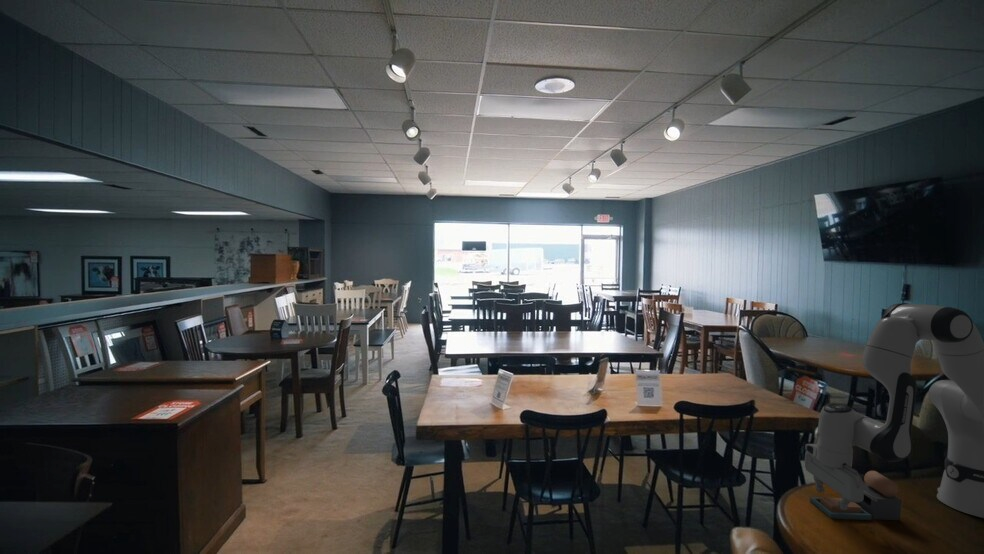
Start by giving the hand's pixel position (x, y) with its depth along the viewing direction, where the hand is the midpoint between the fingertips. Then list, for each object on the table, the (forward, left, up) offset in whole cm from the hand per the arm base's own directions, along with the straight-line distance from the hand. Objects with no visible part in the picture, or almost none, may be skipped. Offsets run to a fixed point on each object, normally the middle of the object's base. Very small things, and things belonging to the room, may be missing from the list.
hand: (830, 499), depth 138 cm
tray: (-3, +1, -3) cm, 4 cm away
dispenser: (-14, 0, -3) cm, 14 cm away
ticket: (-3, 0, -3) cm, 4 cm away
